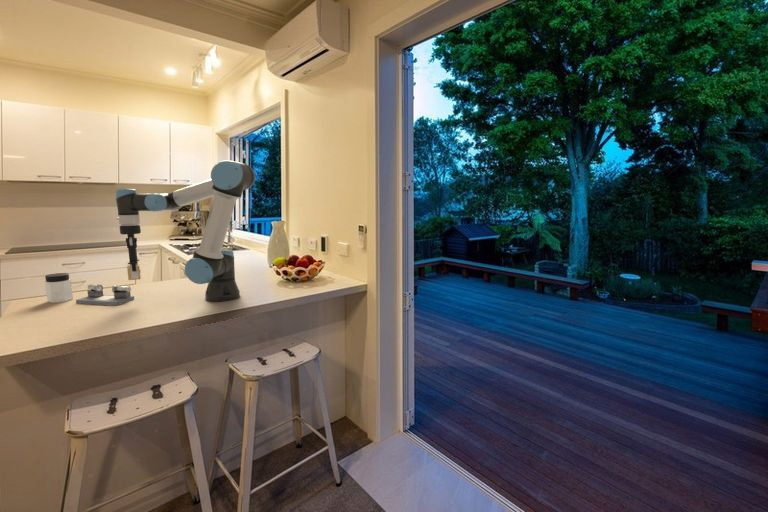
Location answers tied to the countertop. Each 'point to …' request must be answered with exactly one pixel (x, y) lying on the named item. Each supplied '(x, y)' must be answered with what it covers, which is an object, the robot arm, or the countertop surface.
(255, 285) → the countertop surface
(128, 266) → the coupler
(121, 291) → the grey metal block
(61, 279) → the jar
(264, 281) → the countertop surface
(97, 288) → the shaft
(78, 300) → the board
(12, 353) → the countertop surface
